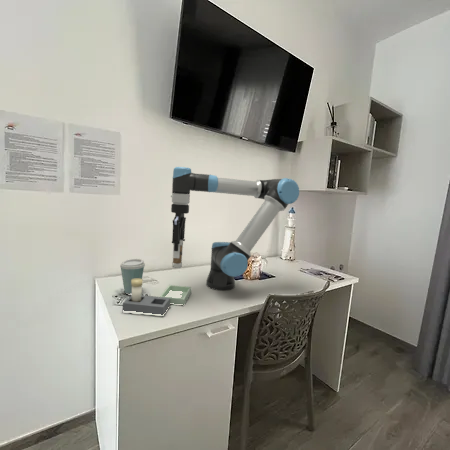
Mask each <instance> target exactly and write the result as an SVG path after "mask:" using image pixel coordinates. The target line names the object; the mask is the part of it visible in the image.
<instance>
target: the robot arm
mask: <svg viewBox="0 0 450 450" xmlns="http://www.w3.org/2000/svg"><path fill="white" fill-rule="evenodd" d="M171 187H172V188H171V190H172V191H171V195H170V198H171V203H172V204H171V207H170V212H171V213H172V214H173V213H174V214H175V216H174V217H173V219H172V235H171V236H172V237H171V239H172V241H171V243H172V244H173V243H174V245H173V249H172V250H173V251H172V259H173V258H180V239H181V240H183V242H185V241H186V238H185V234H186V233H185V231H186V221H187V220H186V219H187V217H185V214H189V211H190V196H191V195H190V194H191V191H193V192H204V193H206V192H207V193H216V194H227V195H239V196H248V197H250V196H251V197H254V199H261V200H264V202H263V203H262V204H261V206H260V207H259V208H258V210H257V211H256V212H255V214H254V215H253V217H251V220H250V221H249V222H248V223H247V225H246V226H245V228H244V229H243V230H242V231H241V233H240V234H239V235H238V236H237V238H236V240H233V241H230V242H229V241H215V242H213V243H212V244H211V247H210V248H211V252H210V253H211V255H210V270H209V273H208V275H207V278H206V283H205V284H206V287H208V288H209V287H210V289H212V288H213V289H212V290H216V289H217V290H218V291H229V290H232V289H234V288H235V285H236V280H235V277H239V276H241V275H243V274H244V273H245V272H246V271H247V269H248V266H249V264H248V262H249V259H250V258H251V251H252V250H253V249H254V247H255V246H256V244H257V243H258V242H259V240H260V239H261V238H262V236H263V235H264V233H265V232H266V231H267V229H268V228H269V226H270V225H271V224H272V222H273V221H274V220H275V218H276V216H277V215H278V214H279V212H283V211H286V209H287V207H288V206H289V205H291V204H294V203H295V202H296V201H297V200H298V198H299V196H300V187H299V184H298V183H297V182H296V181H295V180H294V179H292V178H288V177H283V178H272V179H256V180H255V181H253V180H245V179H244V180H243V179H237V178H236V179H234V178H226V177H219V176H217V175H216V174H215V175H213V174H207V173H206V174H205V173H194V172H192V168H191V167H185V166H175V167H174V168H173V173H172V186H171ZM183 245H184V244H183ZM183 245H182V251H183V248H184V247H183Z"/></svg>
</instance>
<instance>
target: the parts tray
mask: <svg viewBox="0 0 450 450" xmlns="http://www.w3.org/2000/svg"><path fill="white" fill-rule="evenodd" d="M170 290H172V291H182V292H183V293H182V294H180V295H182V297H181V298H172V297H166V298H170V303H174V304H183V305H184V304H186V303H187V301H188V299H189V298H188V297H190V296H191V294H192V287H191V286H182V285H174V284H169V285H168V286H167V287H166V289H165V290H164V291H163V292H162V293H161V294H160V296H159V297H165V296H166V295H167V294H168V293H169V291H170ZM190 293H191V294H190ZM189 295H190V296H189ZM186 300H187V301H186ZM185 302H186V303H185ZM184 306H185V305H184Z"/></svg>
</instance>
